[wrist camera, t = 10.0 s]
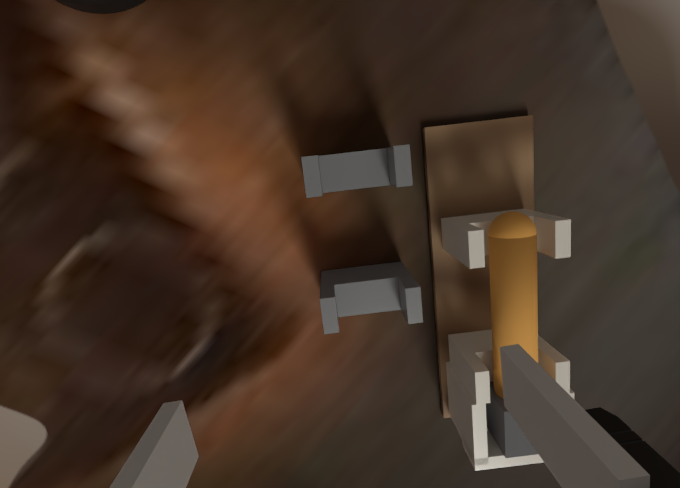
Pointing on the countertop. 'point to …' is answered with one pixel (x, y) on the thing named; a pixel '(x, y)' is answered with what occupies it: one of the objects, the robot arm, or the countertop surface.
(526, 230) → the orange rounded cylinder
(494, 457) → the clips
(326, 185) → the grey cradle stand
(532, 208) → the clip rail
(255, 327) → the countertop surface
